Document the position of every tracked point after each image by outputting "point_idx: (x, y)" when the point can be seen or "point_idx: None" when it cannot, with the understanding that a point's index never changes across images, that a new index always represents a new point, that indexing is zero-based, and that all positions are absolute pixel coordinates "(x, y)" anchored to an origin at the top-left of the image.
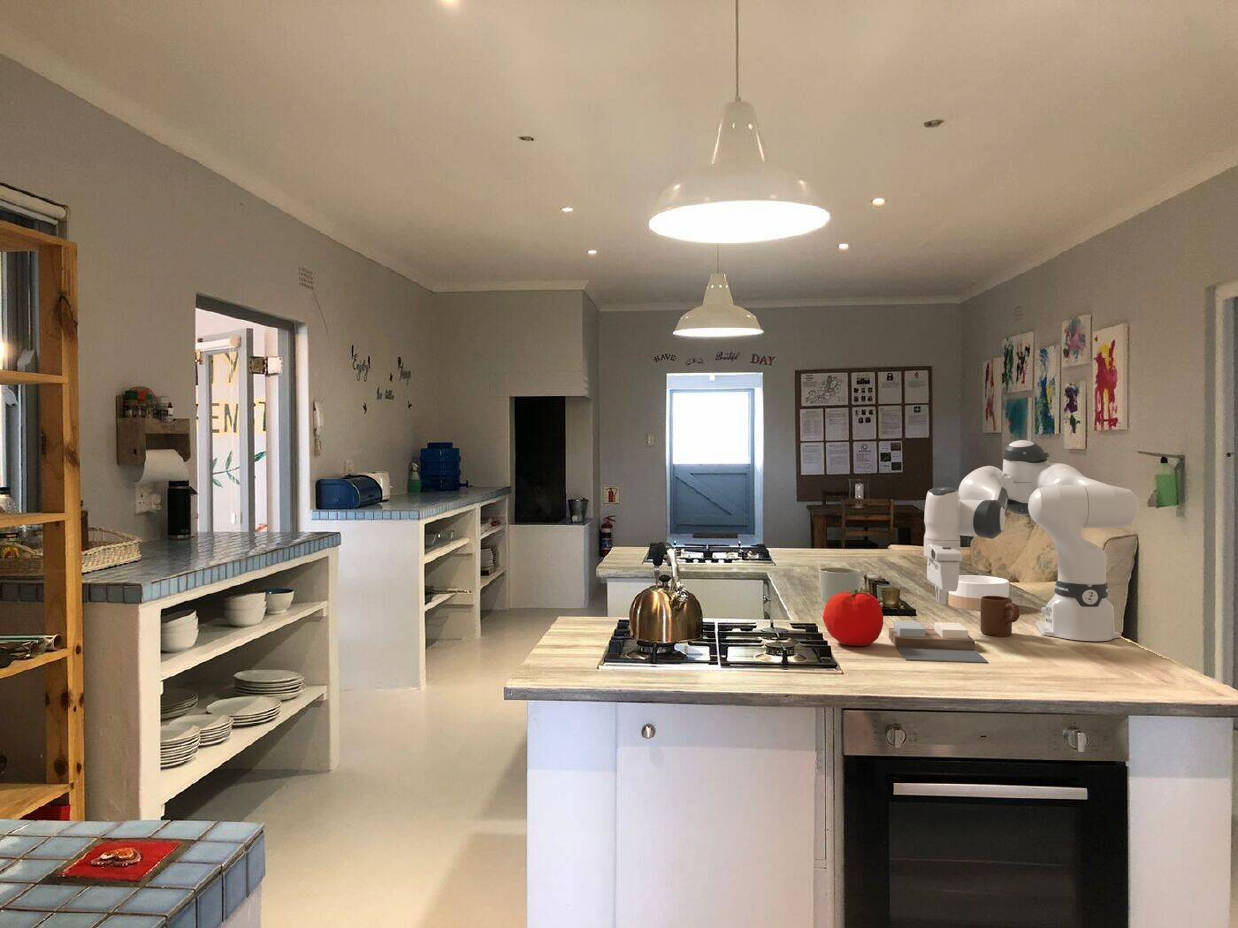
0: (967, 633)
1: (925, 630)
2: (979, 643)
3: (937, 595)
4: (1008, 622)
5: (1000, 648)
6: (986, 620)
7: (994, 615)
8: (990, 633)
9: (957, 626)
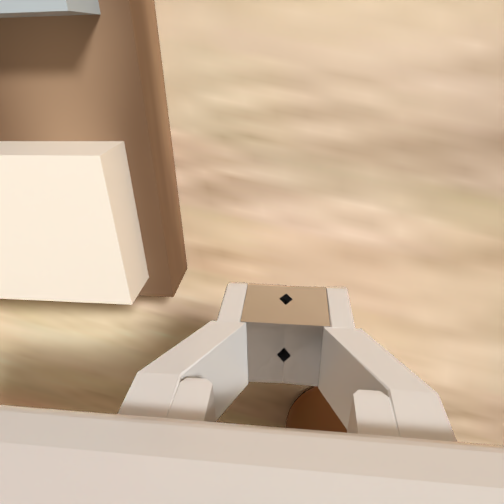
0: None
1: (89, 72)
2: (134, 315)
3: (326, 334)
4: None
5: (68, 358)
6: None
7: None
8: (299, 399)
9: (14, 269)
